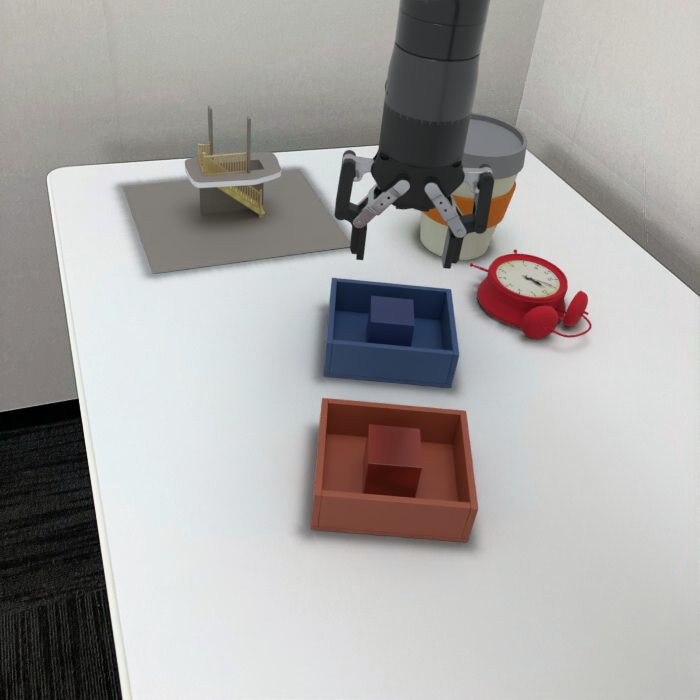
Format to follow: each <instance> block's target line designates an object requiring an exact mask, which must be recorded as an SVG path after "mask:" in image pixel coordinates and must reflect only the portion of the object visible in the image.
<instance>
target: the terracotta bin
mask: <svg viewBox="0 0 700 700" xmlns="http://www.w3.org/2000/svg"><path fill="white" fill-rule="evenodd" d="M369 424H371V425H382V426H393V427H405V428H416V429H420V438H421V455H422V471H421V475H420V479H419V484H418V488H417V492H416V496H415V498H410V497H398V496H386V495H374V494H363V457H364V451H365V445H366V439H367V432H368V426H369ZM317 435H318V436H317V447H316V459H315V468H314V469H315V471H314V483H313V493H312V507H311V518H310V530H314V531H315V530H316V531H327V532H338V533H339V532H341V533H350V534H351V533H352V534H360V535H361V534H362V535H373V536H387V537H398V538H399V537H400V538H410V539H411V538H412V539H424V540H435V541H447V542H457V543H458V542H460V543H468V542H469V538H470V535H471V531H472V529H473V526H474V523H475V521H476V517H477V514H478V512H479V503H478V496H477V487H476V478H475V471H474V470H475V469H474V464H473V463H474V461H473V454H472V447H471V446H472V445H471V438H470V430H469V422H468V414H467V410H462V409H452V408H443V407H442V408H439V407H430V406H420V405H419V406H418V405H408V404H407V405H406V404H396V403H385V402H374V401H364V400H354V399H353V400H352V399H341V398H328V397H327V398H326V397H322V398H321V405H320V414H319V424H318V434H317Z"/></svg>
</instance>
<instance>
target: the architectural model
mask: <svg viewBox="0 0 700 700" xmlns="http://www.w3.org/2000/svg"><path fill="white" fill-rule="evenodd" d="M213 119H214V117H213V108H212V106H211V105H207V129H208V131H207V133H208V136H207V137H208V143H205V144H204V143H203V144H201V143H197V150H198V153H197V154H198V155H195V156H193V157H190V158H187V159H185V160H184V171H185V174H186V176H187V178H188V179H180V180H171V181H162V182H160V181H159V182H151V183H141V184H130V185H123V186H122V188H123V191H124V194H125V196H126V200H127V202H128V205H129V209H130V212H131V214H132V217H133V220H134V223H135V225H136V228H137V232H138V235H139V236H140V241H141V244H142V245H143V250H144V252H145V255H146V258H147V260H148V263H149V266H150V269H151V272H152V274H153V275H155V274H162V273H168V272H177V271H183V270H190V269H198V268H205V267H212V266H213V267H214V266H221V265H227V264H228V265H229V264H234V263H241V262H248V261H250V262H251V261H256V260H264V259H271V258H277V257H285V256H287V257H288V256H293V255H294V256H295V255H300V254H301V255H302V254H307V253H315V252H316V253H317V252H322V251H329V250H337V249H345V248H350V241H351V240H350V239H348V236H347V235H346V234H345V233H344V231H343V230H342V228H341V227H340V225H339V224H338V223H337V221H336V220H335V217H333V216H332V214H331V212H330V211H329V210H328V208H327V206H326V205H325V204H324V202H323V201H322V199H321V198H320V196H319V195H318V193H317V192H316V191H315V189H314V188H313V187H312V184H310V182H309V181H308V180H307V178H306V176H305V175H304V174H303V172H302V170H301V169H300V168H294V169H286V170H285V169H284V170H282V168H281V164H280V162H279V160H278V157H277V155H275V153H273V152H272V151H259V152H258V151H253V152H251V147H252V146H251V141H252V136H251V135H252V118H251V117H250V116H246V149H245V152H221V153H220V152H218V153H217V152H216V153H214V126H213V125H214V124H213V123H214V121H213Z"/></svg>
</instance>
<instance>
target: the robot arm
mask: <svg viewBox="0 0 700 700" xmlns="http://www.w3.org/2000/svg"><path fill="white" fill-rule="evenodd" d="M490 4H491V0H399V3H398V12H397V19H396V28H395V36H394V43H393V49H392V53H391V56H390V60H389V64H388V68H387V75H386V80H385V84H384V99H383V100H384V101H383V108H382V116H381V124H380V133H379V141H378V149H377V151H376V152H375V153H376V154H375V155H374V156H373V157H372V158H370V157H364V156H357V154H356V152H355V151H354V150H352V149H347V150H345V151H344V152H343V153H342V158H341V165H340V170H339V177H338V178H339V179H338V183H337V191H336V197H335V202H334V203H335V205H334V219H336V220H338V221H347V222H348V223H350V225H351V232H350V233H351V234H350V240H349V241H350V247H349V251H350V253H351V255H356V257H355V260H357V261H364V259H365V249H366V241H367V234H368V224H369V223H370V222H371V221H372V220H374V218H375V217H376V216H377V217H378V216H381V214H383V213H384V211H386V210H387V209H388V208H389V207H390V206H393V207H395V210H403V211H404V210H410V209H414V210H416V211H418V212H421V211H423V212H429V210H430V209H434V208H436V209H437V210H438V212H439V213H440V215H441V217H442V218H443V220H444V221H445V222H446V223H447V224H448V229H447V234H446V239H445V244H444V249H443V254H442V256H441V263H442V268H443V269H448V270H449V269H450V270H451V268H452V264H454V265H457V264H458V262H459V261H460V260H459V257H460V253H461V248H462V243H463V239H464V237H465V236H466V235H467V234H469V233H473V232H476V233H477V234H482V233H484V232H485V231H486V229H487V223H488V217H489V211H490V205H491V199H492V193H493V187H494V177H493V173H492V169H491V166H490V165H489V164H482V165H480V166H479V168H463V166H462V158H463V153H464V148H465V143H466V138H467V133H468V128H469V123H470V118H471V113H473V107H474V102H475V97H476V92H477V87H478V81H479V72H480V71H479V70H480V57H481V51H482V46H483V40H484V35H485V31H486V26H487V25H486V24H487V19H488V15H489V11H490V10H489V9H490ZM368 173H370V174H371V177H372V178H373V179H374V181H375V184H374V185H373V186H372V187H371V188H370V189H369V190H368V192H367V194H366V195H365V196H364V197H363V198H362V199H360V201H359V202H358V203H357V204H356V203H353V202H351V196H352V191H353V185H354V183H357V182H360V181H361V180H362V179H363V177H364V175H365V174H368ZM463 181H465V182H467V183H468V184H469V187H470V191H471V192H472V193H475V194H474V201H473V208H472V214H468V215H462V213H461V211H460V210H459V208H458V206H457V205H456V203H455V200H454V198H453V196H452V193H453V192H454V191H455V190H456V189H457V188H458V187H459V186H460V185H461V184H462V183H463Z"/></svg>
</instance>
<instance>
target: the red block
mask: <svg viewBox="0 0 700 700" xmlns="http://www.w3.org/2000/svg"><path fill="white" fill-rule="evenodd" d="M421 471H422V455H421V438H420V429H416V428H405V427H393V426H382V425H371V424H369V426H368V432H367V439H366V445H365V451H364V457H363V494H374V495H386V496H398V497H410V498H415V496H416V492H417V488H418V484H419V479H420V475H421Z"/></svg>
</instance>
